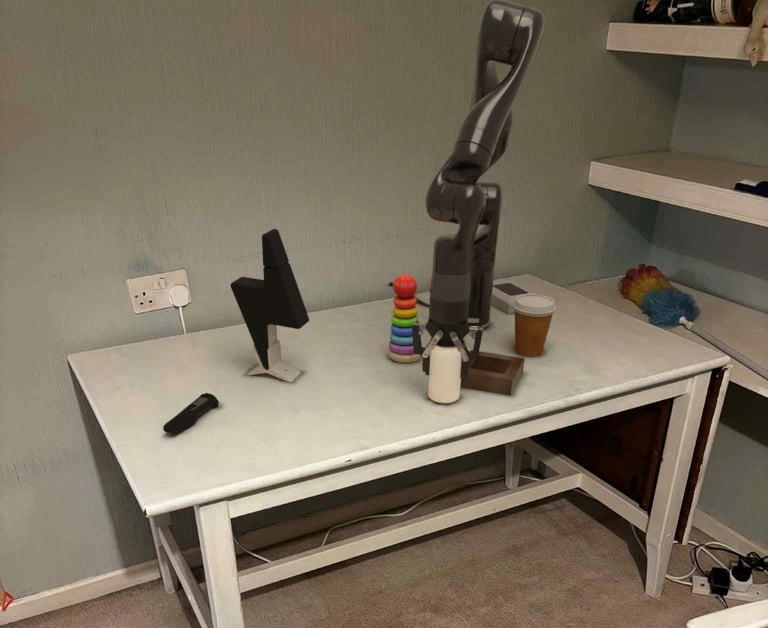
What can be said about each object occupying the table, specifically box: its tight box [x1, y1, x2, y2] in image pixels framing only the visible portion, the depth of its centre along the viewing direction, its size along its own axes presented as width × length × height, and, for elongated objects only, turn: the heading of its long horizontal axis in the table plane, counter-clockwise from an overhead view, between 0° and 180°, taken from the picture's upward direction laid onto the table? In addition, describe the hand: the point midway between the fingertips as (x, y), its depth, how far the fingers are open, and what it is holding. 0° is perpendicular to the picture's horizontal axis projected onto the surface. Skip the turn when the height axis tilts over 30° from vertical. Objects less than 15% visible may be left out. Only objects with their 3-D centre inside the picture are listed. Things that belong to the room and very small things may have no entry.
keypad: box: [491, 280, 534, 315], centre depth 205 cm, size 10×4×15 cm
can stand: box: [460, 349, 526, 396], centre depth 165 cm, size 12×12×4 cm
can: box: [427, 344, 462, 405], centre depth 154 cm, size 6×6×12 cm
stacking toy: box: [387, 273, 423, 364], centre depth 170 cm, size 8×8×19 cm
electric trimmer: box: [162, 392, 220, 435], centre depth 148 cm, size 4×16×3 cm, turn 158°
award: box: [230, 228, 310, 383], centre depth 158 cm, size 15×5×30 cm, turn 71°
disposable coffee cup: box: [513, 293, 557, 357], centre depth 175 cm, size 10×10×12 cm
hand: (444, 375), depth 155 cm, fingers closed on can, 6 cm apart
